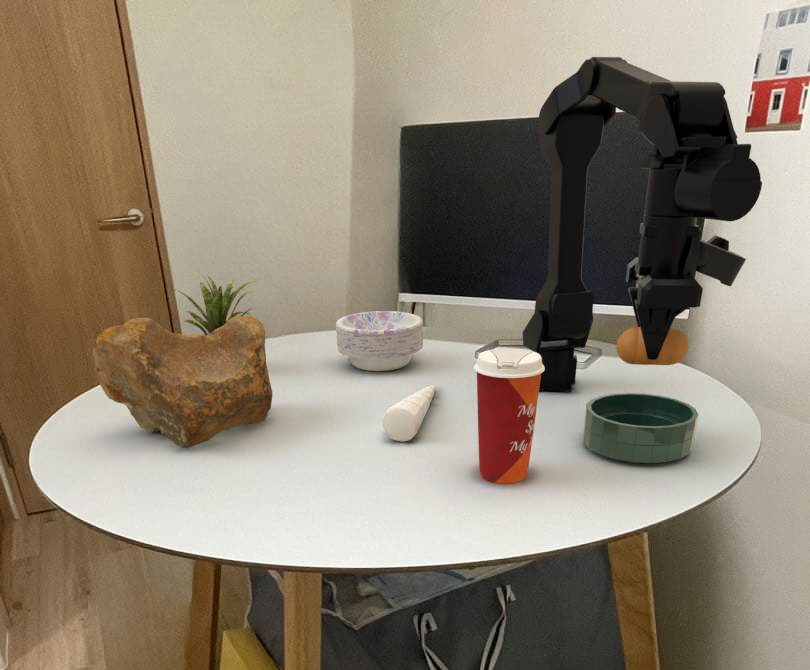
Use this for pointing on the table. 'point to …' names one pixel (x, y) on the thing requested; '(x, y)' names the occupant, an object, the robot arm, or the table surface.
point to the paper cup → (506, 412)
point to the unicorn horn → (407, 415)
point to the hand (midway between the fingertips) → (650, 354)
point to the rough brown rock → (186, 377)
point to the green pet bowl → (639, 427)
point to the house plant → (215, 306)
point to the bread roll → (635, 353)
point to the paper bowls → (379, 339)
